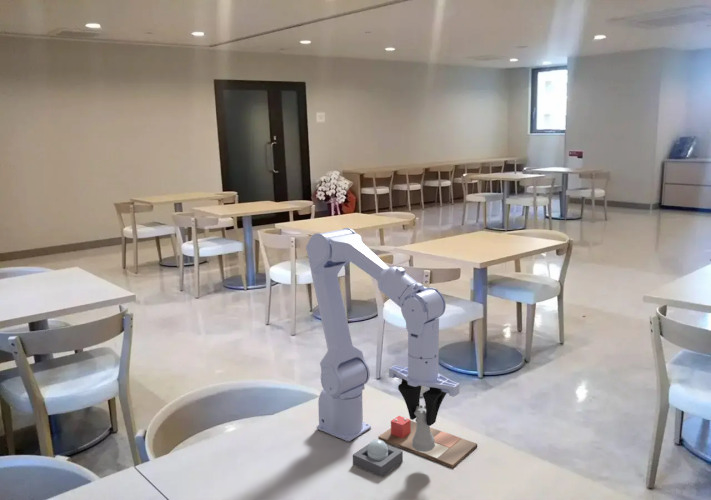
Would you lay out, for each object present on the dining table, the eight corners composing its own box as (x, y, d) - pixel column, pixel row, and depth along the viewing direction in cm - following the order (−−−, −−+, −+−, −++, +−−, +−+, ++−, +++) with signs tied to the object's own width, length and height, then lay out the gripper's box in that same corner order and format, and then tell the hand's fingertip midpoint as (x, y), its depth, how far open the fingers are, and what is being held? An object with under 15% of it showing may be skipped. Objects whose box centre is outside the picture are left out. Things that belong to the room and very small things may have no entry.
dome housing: (352, 464, 115) (352, 454, 115) (374, 449, 121) (374, 440, 120) (381, 477, 111) (381, 466, 111) (402, 461, 116) (402, 451, 116)
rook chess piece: (435, 452, 111) (434, 413, 110) (412, 452, 112) (410, 413, 110) (434, 440, 116) (433, 402, 114) (412, 440, 116) (410, 403, 115)
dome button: (363, 462, 115) (363, 441, 115) (375, 453, 118) (375, 433, 118) (379, 469, 113) (379, 448, 112) (392, 460, 116) (391, 439, 115)
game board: (378, 439, 125) (378, 436, 125) (405, 421, 132) (405, 418, 132) (452, 467, 114) (452, 464, 114) (477, 446, 121) (477, 443, 121)
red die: (390, 433, 126) (390, 419, 125) (399, 428, 128) (399, 414, 127) (402, 438, 124) (402, 423, 123) (410, 432, 126) (410, 418, 126)
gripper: (379, 351, 112) (379, 417, 114) (446, 369, 103) (444, 440, 105) (400, 340, 117) (400, 404, 120) (465, 357, 108) (464, 425, 111)
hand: (422, 420), depth 113 cm, fingers closed on rook chess piece, 3 cm apart
